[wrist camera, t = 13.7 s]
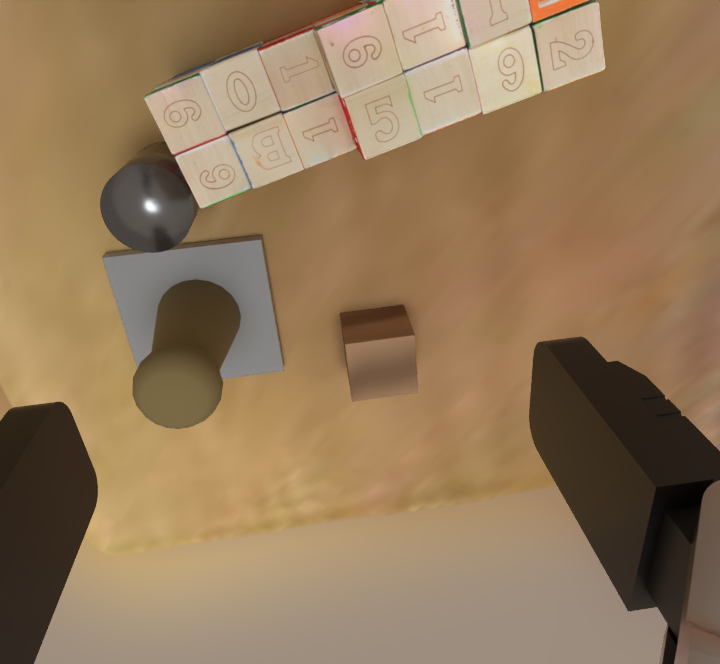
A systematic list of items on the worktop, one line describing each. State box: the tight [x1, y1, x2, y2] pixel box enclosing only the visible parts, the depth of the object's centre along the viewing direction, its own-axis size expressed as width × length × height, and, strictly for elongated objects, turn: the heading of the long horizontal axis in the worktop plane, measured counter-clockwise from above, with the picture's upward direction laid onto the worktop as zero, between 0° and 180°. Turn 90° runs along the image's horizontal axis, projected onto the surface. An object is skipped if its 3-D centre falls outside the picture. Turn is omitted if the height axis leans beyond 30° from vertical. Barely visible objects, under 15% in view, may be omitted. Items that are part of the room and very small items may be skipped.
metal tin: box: [100, 142, 200, 253], centre depth 36 cm, size 5×5×7 cm
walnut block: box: [340, 305, 418, 402], centre depth 45 cm, size 5×5×5 cm
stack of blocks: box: [144, 0, 605, 209], centre depth 32 cm, size 21×6×12 cm, turn 109°
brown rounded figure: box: [133, 279, 241, 429], centre depth 38 cm, size 6×6×11 cm
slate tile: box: [102, 235, 284, 379], centre depth 44 cm, size 11×11×1 cm
